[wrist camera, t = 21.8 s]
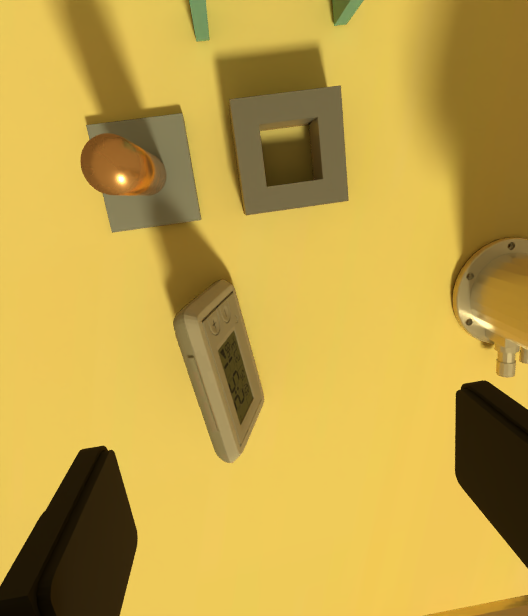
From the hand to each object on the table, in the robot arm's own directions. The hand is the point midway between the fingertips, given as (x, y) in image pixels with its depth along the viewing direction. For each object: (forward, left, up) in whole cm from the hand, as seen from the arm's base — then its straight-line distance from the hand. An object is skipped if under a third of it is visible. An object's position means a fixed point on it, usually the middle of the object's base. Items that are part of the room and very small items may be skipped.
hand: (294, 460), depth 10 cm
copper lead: (+10, +8, -32) cm, 35 cm away
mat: (+10, +8, -33) cm, 36 cm away
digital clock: (-10, +3, -34) cm, 35 cm away
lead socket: (+10, -6, -33) cm, 35 cm away
